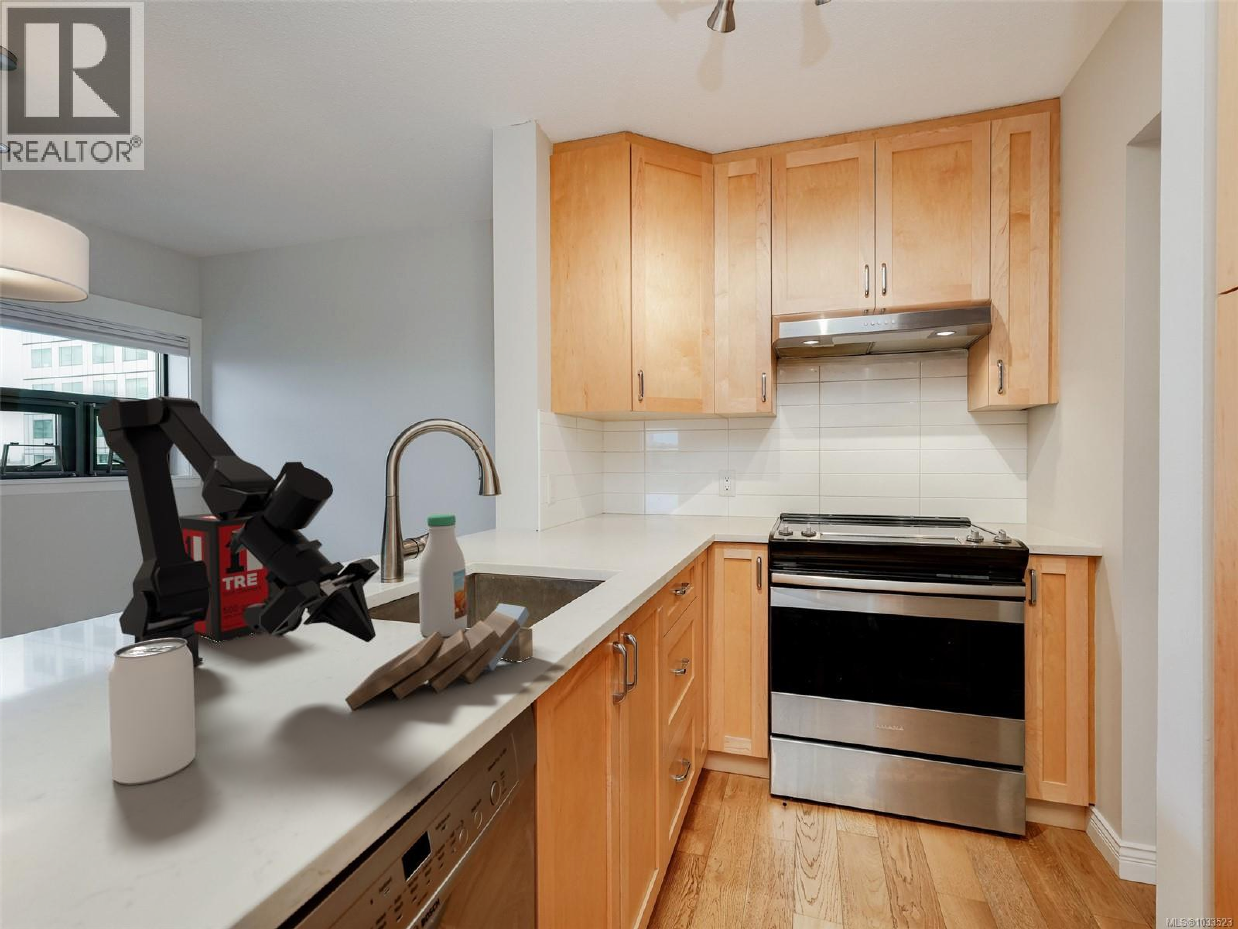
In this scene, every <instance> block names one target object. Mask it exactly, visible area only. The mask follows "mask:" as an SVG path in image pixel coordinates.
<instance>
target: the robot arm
mask: <svg viewBox="0 0 1238 929" xmlns="http://www.w3.org/2000/svg"><path fill="white" fill-rule="evenodd" d="M97 423H98V427H100V428H99V429H100V430H101V432H102V435H103V438H104V441H105V445H106V446H107V447H108V448H109V449H110V450H111V451H112V452H113V453H114V454H115V455H116V456H117V457H118V458H119V459H120V460H121V461H122V462H123V463H124V466H125V470H126V471H125V472H126V477H127V480H128V487H129V491H130V499H131V503H132V507H133V513H134V519H135V523H136V530H137V534H138V540H139V544H140V549H141V555H142V564H141V565H140V567H139V569H138V571H137V573H136V575H135V577H134V579H133V581H132V595H133V596H132V597H131V599H130V601H129V602H128V604H127V605H126V607H125V609H124V610H123V612H122V614H121V615H120V617H119V619H118V621H119V626H120V629H121V633H122V634H123V635H128V636H134V644H135V643H139V642H144V641H149V640H155V639H164V638H182V639H185V640H187V644H186V646H187V648H188V649H189V650H190V652H191V654H192V657H193V667H194V666H196V665H198V664H200V663H201V662H203V661H204V660H203V659H204V658H203V657H200V656H199V654H200V652H199V651H200V649H199V636H198V634H195V622H199V621H200V622H202V621H205V620H206V615H207V611H208V606H209V601H210V597H211V589H210V587H211V585H210V583H209V580H208V577H207V569H206V564H205V563H204V562H203V561H202V560H199V561H195V560H194V559H193V558H192V557H191V556H190V555H188V554H187V552H186V550H185V545H184V540H183V534H182V529H181V524H180V519H179V516H180V515H179V514H180V513H179V510H178V505H177V499H176V494H175V489H174V485H173V484H174V483H173V478H172V474H171V468H170V463H169V457H168V455H169V453H170V451H172V449H173V446H174V445H175V446H176V448H177V450H179V452H180V453H181V454H182V455H183V456H184V458H185V459H186V461H187V462H188V463H189V464H190V466H191V468H193V469H194V471H195V472H196V473H197V474H198V475H199V477H200V478H201V481H202V482H203V485H202V491H201V497H202V499H203V500H204V502H205V504H206V506H207V507H208V509H209V511H210V512H211V513H212V514H213V516H214V517H215V518H216V519H218V520H219V521H233V520H242V519H248V520H247V521H246V523H245V524H244V525H243V527H242V528H241V529H239V530H236V531H233V532H231V543H230V552H231V553H232V554H234V553H237V552H240V551H242V550H245V549H247V550H248V551H249V552H250V553H251V554H252V555H253V556H254V557H255V558H256V559H257V560H258V561H259V562H260V563H261V564H262V565H263V566H264V567H265V568H266V569H267V570H268V571H269V574H268V575H267V576H266V577H265V579H266V580H267V581H266V583H267V584H268V585H269V586H270V587H271V589H272V591H271V593H270V595H269V597H268V598H265V599H263V602H264V603H265V604H255V605H252V606H249V607H247V608H246V609H245V611H244V614H243V616H242V618H243V620H244V621H245V622H246V623H247V625H248V626H249V627H250V628H251V629H252V630H254V631H255V634H254V635H257V636H261V635H264V634H265V633H267V634H268V636H270V637H273V636H274V637H275V638H278V639H280V638H283V636H284V635H285V634H287V633H291V632H294V631H296V630H297V629H298V628H299V627H300V625H301V624H303V625H305V626H308V625H312V624H328V625H329V626H331V627H332V626H333V627H335V628H337V629H340V630H342V631H344V632H346V633H347V634H349V635H351V636H353V637H356V638H357V639H359V640H361V641H364V642H366V643H370V642H371V641H373V639H375V637H376V636H377V635H376V634H377V633H376V630H375V628H374V625H373V620H372V618H371V617H372V616H371V615H370V611H369V607H368V604H367V600H366V599H367V598H366V597H365V596H366V595H365V591H364V586H365V585H366V584H368V582H369V581H370V580H371V579H372V578H373V577H374V576H375V574H377V573H378V572H379V571H380V569H381V567H380V566H379V565H378V564H377V563H376V562H375V561H374V560H373V559H372V558H360V559H357V560H354V561H352V562H349V563H348V564H347V566H346V567H345V566H344V565H343V564H342V563H341V562H340V561H336V562H334V563H332V562H331V561H330V560H329V559H328V558H327V557H326V556H325V555H324V554H323V553H322V552H321V551H320V550H319V549H321V547H322V546H323V544H322V543H321V542H320V540H318V539H314V540H309V539H308V538H307V537H306V536H305V535H304V534H303V533H302V532H301V530H304V529H306V528H307V527H309V526H310V524H311V523H312V521H313V520H314V519H315V518H316V516H317V515H318V514H319V513H320V511H321V510H322V509H323V507H324V506H325V505H326V503H327V502H328V500H330V498H331V497H332V496H333V494H334V493H333V492H334V487H333V484H332V483H331V481H330V480H329V478H327V477H325V476H323V475H322V474H320V473H319V472H318V471H315V470H313V469H312V468H308V467H305V466H304V464H303V462H302V461H285V463H284V464H283V466H282V468H281V470H280V471H279V474H278V475H277V476H276V478H273V476H271V475H270V474H269V473H268V472H266V471H265V470H264V469H263V468H261V467H260V466H258V465H256V464H254V463H253V464H252V463H251V462H248V461H246V460H243V459H242V458H241V457H240V456H238V455H237V454H236V452H235V450H233V448H231V446H230V445H229V444H228V443H227V441H226V440H225V439H224V438H223V437H222V436H221V435H220V433H219V432H218V431H217V429H215V428H214V426H213V425H212V424H211V422H210V421H209V420H208V419H207V418H206V417H205V416H204V415H203V413H202V410H201V406H200V405H199V403H198V402H197V401H196V400H192V399H191V398H188V397H175V396H174V397H173V396H164V395H163V396H161V395H160V396H157V397H152V398H148V399H131V398H130V399H128V398H118V397H116V398H111V399H110V400H108V402H107V403H106V405H103V406H101V407H100V409H99V410H98V413H97ZM305 610H306V613H307V614H308V618H306V619H305V620H304V621H303V615H304V614H305ZM302 621H303V623H302Z"/></svg>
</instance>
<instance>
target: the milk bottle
mask: <svg viewBox="0 0 1238 929" xmlns="http://www.w3.org/2000/svg"><path fill="white" fill-rule="evenodd" d="M426 521H427V529H428V538H427V541H426V544H425V547H424V549H423V551H422V554H421V556H420V560H419V566H418V568H419V570H418V571H419V572H418V592H419V594H418V597H419V599H418V600H419V601H418V602H419V605H418V606H419V630H420V634H421V635H422V636H424V637H425V638H427V637H428V636H430V635H431V634H433V633H435V632H436V631H439V632H440V634H441V635H442V637H443V638H447V637H448V638H449V637H451V636H452V635H454V634H455V633H457V632H458V631H459V630H462V631H463V633H464V632H466V629H467V626H468V625H467V624H468V619H467V618H468V614H467V612H468V611H467V608H468V606H467V605H468V604H467V574H466V573H467V572H466V571H467V570H466V561H465V557H464V554H463V551H462V549H461V546H460V545H459V543H458V540H457V538H456V533H455V529H456V521H457V520H456V515H454V514H433V515H429V516H427V520H426Z"/></svg>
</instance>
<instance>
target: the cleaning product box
mask: <svg viewBox="0 0 1238 929" xmlns="http://www.w3.org/2000/svg"><path fill="white" fill-rule="evenodd" d="M179 519H180V524H181V529H182V534H183V540H184V545H185V550H186V552H187V554H188V555H190V556H191V557H192V558H193V559H194V560H195V561H199V560H202V561H203V562H204V563H205V564H206V569H207V577H208V580H209V583H210V585H211V587H210V589H211V597H210V601H209V606H208V611H207V615H206V620H205V621H202V622H200V621H199V622H195V634H198V635H200V636H203V637H207V638H209V639H211V640H215V641H217V642H219V641H223V640H227V641H230V639H231V640H234V639H233V638H235V639H237V638H236V637H239V638H243V637H247V636H250V635H249V634H251V633H255V631H254V630H252V629H251V628H250V627H249V626H248V625H247V623H246V622H245V621H244V620H243V618H242V616H243V614H244V611H245V609H246V608H247V607H249V606H252V605H255V604H265V603H264V602H263V599H265V598H268V597H269V595H270V593H271V591H272V589H271V587H270V586H269V585H268V584H267V583H266V581H267V580H266V579H265V577H266V576H267V575H268V574H269V571H268V570H267V569H266V568H265V567H264V566H263V565H262V564H261V563H260V562H259V561H258V560H257V559H256V558H255V557H254V556H253V555H252V554H251V553H250V552H249V551H248V550H247V549H245V550H242V551H240V552H237V553H234V554H232V553H231V552H230V543H231V532H233V531H236V530H239V529H241V528H242V527H243V525H244V524H245V523H246V521H247V520H248V519H242V520H233V521H219V520H218V519H216V518H215V517H214V516H213V514H212V513H210V512H209V513H201V514H190V515H189V514H188V515H179ZM246 635H247V636H246ZM251 635H252V634H251ZM242 636H243V637H242ZM211 640H210V641H211ZM217 642H216V643H217ZM223 642H224V641H223ZM219 643H220V642H219Z"/></svg>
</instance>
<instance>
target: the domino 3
mask: <svg viewBox="0 0 1238 929" xmlns="http://www.w3.org/2000/svg"><path fill="white" fill-rule="evenodd" d="M464 634H465V636H466V637H467V639H468V643H469V649H470V651H468V652H467V653H466V654H464V655H463V656H461V657H460V658H458V659H457V660H456V661H454V662H453V663H451V664H450V665H449V666H447V667H446V668H444V669H443V670H441V671H440V672H439V673H437V674H436V675H434V676H433V677H432V678H430V679H429V680H427V682H428V683H429V684H430V685H431V686H432V687H433V689H434V690H435V691H436V692H437V693H438V694H439V693H440V692H441V691H442V690H443V689H445V688H446V687H448V685H449V684H450V683H451V682H453V681H454V680H455V679H456V678H457V677H458V675H459V674H461V673H462V672H463V671H464V670H465V669H466V668H467V667H469V666H470V665H471V664H472V663H473V662H474V661H475V660H477V659H478V658H479V657H480V656H481V655H482V654H483V653H484V652H486V651H487V650H488V649H489V648H490V647H491V646H492V645H494V644H495V643H496V642H497V641H498V640H499V639H500V637H499V636H498V635H497V633H496V632H495V630H494V629H492V628H491V627H489V626H488V625H486V624H485V623H484V621H482V620H481V619H480V620H478V622H477V623H475V624H474V625H473V626H472V627H471V628H469V629H468V630H467V631H465V633H464Z"/></svg>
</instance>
